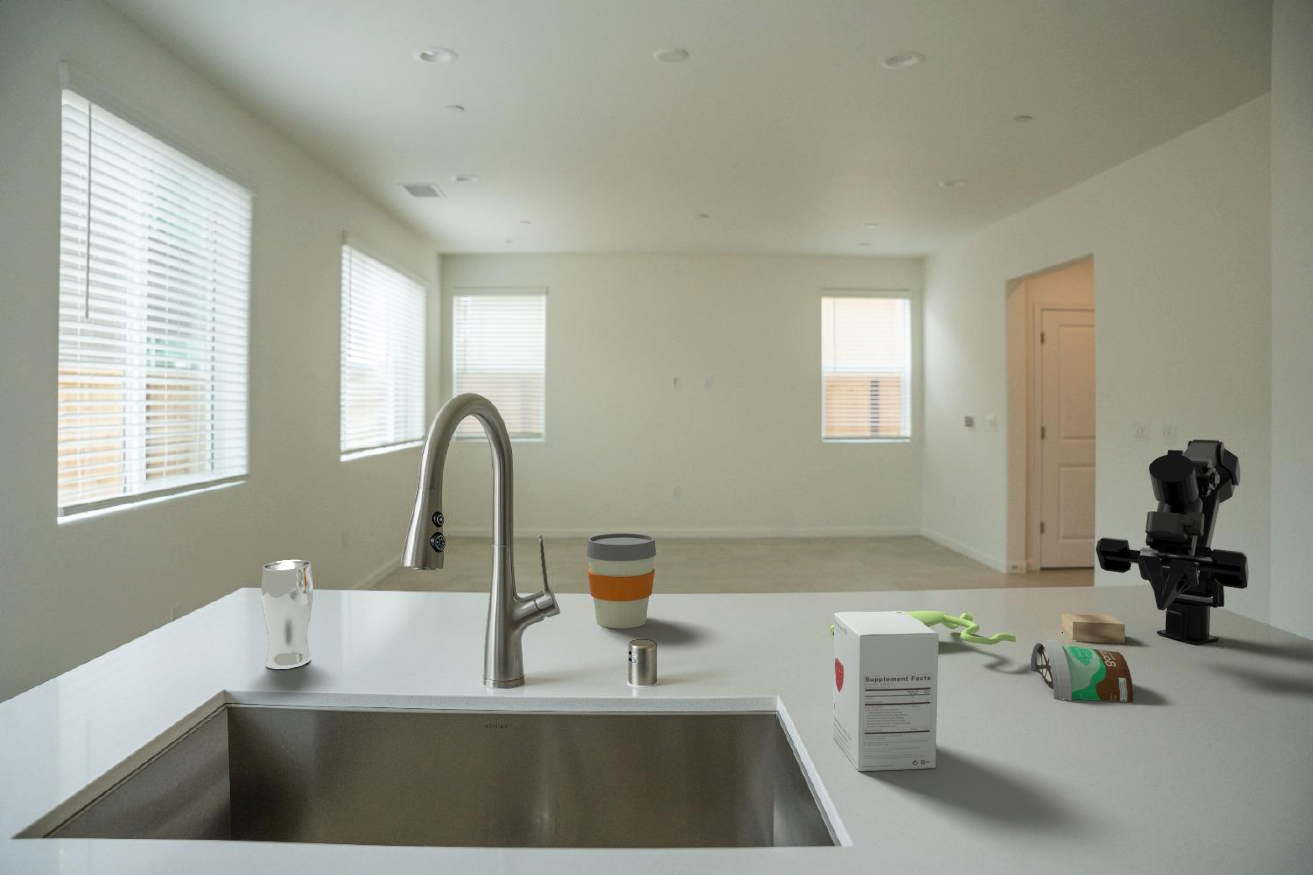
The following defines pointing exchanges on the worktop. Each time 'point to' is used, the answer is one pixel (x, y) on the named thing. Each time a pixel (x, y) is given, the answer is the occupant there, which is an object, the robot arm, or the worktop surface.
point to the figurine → (953, 622)
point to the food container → (1082, 672)
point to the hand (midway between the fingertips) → (1160, 608)
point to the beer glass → (287, 610)
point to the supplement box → (885, 690)
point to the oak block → (1093, 628)
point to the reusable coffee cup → (621, 578)
